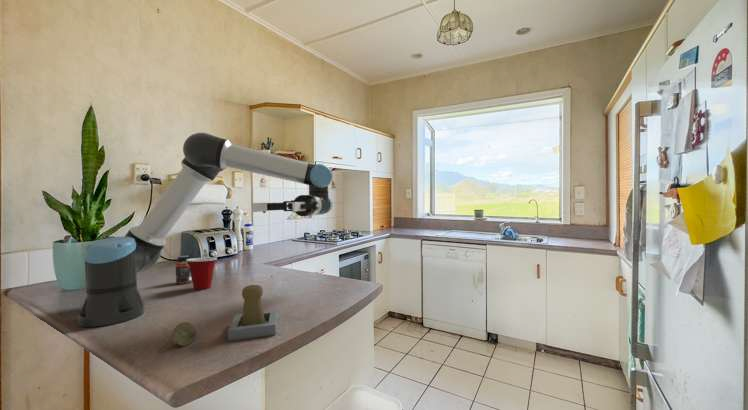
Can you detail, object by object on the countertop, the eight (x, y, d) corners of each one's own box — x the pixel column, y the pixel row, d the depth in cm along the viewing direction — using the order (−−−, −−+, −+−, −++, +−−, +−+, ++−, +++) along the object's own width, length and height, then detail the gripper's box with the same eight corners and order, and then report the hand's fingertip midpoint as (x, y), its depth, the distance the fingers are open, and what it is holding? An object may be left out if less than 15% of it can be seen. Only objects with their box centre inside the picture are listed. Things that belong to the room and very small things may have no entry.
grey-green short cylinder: (197, 338, 77) (197, 318, 77) (188, 347, 72) (188, 326, 72) (178, 340, 76) (178, 319, 76) (168, 349, 71) (167, 327, 71)
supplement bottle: (195, 281, 132) (194, 255, 132) (180, 285, 127) (179, 258, 127) (188, 280, 135) (187, 254, 135) (173, 283, 130) (172, 256, 130)
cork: (245, 323, 85) (244, 283, 85) (268, 321, 85) (266, 282, 85) (237, 332, 79) (236, 289, 79) (261, 331, 79) (260, 288, 79)
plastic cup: (224, 284, 127) (223, 255, 127) (206, 292, 116) (205, 260, 116) (200, 284, 129) (199, 255, 128) (180, 291, 118) (179, 260, 118)
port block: (228, 340, 75) (228, 330, 75) (235, 323, 85) (235, 314, 85) (275, 334, 78) (275, 324, 78) (277, 318, 88) (276, 310, 88)
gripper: (339, 215, 108) (311, 219, 87) (276, 216, 114) (237, 220, 94) (339, 194, 108) (311, 193, 87) (276, 195, 114) (236, 195, 94)
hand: (272, 207), depth 90 cm, fingers open, 13 cm apart
